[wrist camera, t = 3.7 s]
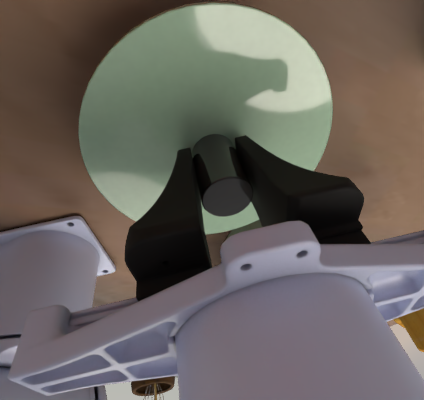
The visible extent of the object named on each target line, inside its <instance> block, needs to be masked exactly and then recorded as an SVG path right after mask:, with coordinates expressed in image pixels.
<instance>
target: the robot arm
mask: <svg viewBox="0 0 424 400" xmlns="http://www.w3.org/2000/svg"><path fill="white" fill-rule="evenodd" d="M235 147H236V151H237V154H238V156H239V158H240V160H241V163H242V165H243V167H244V169H245V172H246V174H247V176H248V178H249V181H250V183H251V185H252V188H253V198H252V200H251V202H252V204H253V206H254V208H255V210H256V212H257V215H258V217H259V219H260V222H261V225H262V227H261V228H257V229H252V230H248V231H244V232H239V233H237V234H235V235H232V236H230V237H229V238H228V239H227V240H226V241H225V242H224V243H222V245H221V249H220V255H221V264H219V265H217V266H215V267H213V268H212V263H211V259H210V254H209V249H208V245H207V240H206V235H205V230H204V223H203V213H202V204H201V197H200V193H199V188H198V183H197V179H196V172H195V167H194V162H193V158H192V153H191V149H190V148H185V149H180V150H178V152H177V157H176V161H175V165H174V168H173V170H172V173H171V176H170V178H169V180H168V182H167V184H166V186H165V188H164V190H163V191H162V193H161V195H160V196H159V198H158V199H157V201H156V202H155V203H154V205H153V206H152V207H151V208H150V209H149V210H148V211H147V212H146V213H145V214H144V215H143V216H142V217H141V218H140V219H139V220H138V221H137V222H135V223H134V224H133V225H132V226H131V227H130V228H129V232H128V235H127V240H126V245H125V262H126V265H127V267H128V268H129V270H130V272H131V273H132V275H133V276H134V278H135V280H136V281H137V287H136V298H131V299H127V300H123V301H119V302H114V303H110V304H106V305H101V306H97V307H93V308H92V304H93V297H94V291H95V284H96V278H97V276H100V275H105V274H109V273H113V272H115V270H116V266H115V265H114V263H113V262H112V260H111V259H110V257H109V256H108V254H107V253H106V251H105V250H104V248H103V247H102V245H101V244H100V242H99V241H98V240H97V238H96V237H95V235H94V234H93V232H92V231H91V229H90V228H89V226H88V225H87V223H86V222H85V220H84V219H83V218H82V217H80V216H72V217H67V218H62V219H58V220H53V221H49V222H44V223H40V224H35V225H31V226H26V227H21V228H17V229H12V230H8V231H3V232H0V400H107V395H106V390H105V386H104V385H108V384H116V383H124V382H131V381H139V380H147V379H155V378H163V377H171V376H178V385H179V399H180V400H424V380H423V378H422V377H421V375H420V374H419V372H418V371H417V369H416V367H415V366H414V364H413V363H412V361H411V360H410V358H409V356H408V355H407V353H406V352H405V350H404V349H403V347H402V346H401V344H400V342H399V341H398V339H397V338H396V336H395V335H394V333H393V332H392V330H391V328H390V327H389V325H388V324H387V321H390V320H393V319H396V318H398V317H401V316H404V315H407V314H409V313H412V312H415V311H418V310H420V309H423V308H424V230H423V231H419V232H414V233H410V234H406V235H402V236H397V237H393V238H389V239H384V240H380V241H376V242H372V243H371V242H370V241H369V240H368V239H367V237H366V236H365V235H364V233H363V232H362V231H361V230H362V228H363V227H362V225H361V223H360V222H359V221H358V219H359V216H360V213H361V210H362V207H363V203H364V197H363V194H362V193H361V191H360V190H359V189H358V188H357V187H356V185H355V184H354V183H353V182H352V181H351V180H350V179H349V178H346V177H339V176H333V175H327V174H323V173H318V172H314V171H311V170H308V169H305V168H302V167H299V166H296V165H294V164H291V163H289V162H287V161H285V160H283V159H281V158H279V157H277V156H275V155H274V154H272V153H270V152H269V151H267V150H266V149H264V148H263V147H261V146H260V145H258V144H257V143H256V142H254V141H253V140H252V139H250V138H249V137H248V136H246V135H245V136H241V137H236V138H235ZM69 222H71V223H69Z"/></svg>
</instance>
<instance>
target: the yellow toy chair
mask: <svg viewBox="0 0 424 400" xmlns="http://www.w3.org/2000/svg"><path fill="white" fill-rule="evenodd" d="M393 320H394V321H395V322H396V323H397V324H399V325H401V326H402V327H404V328H406V330H407V332H408V333H409V335H410V337H411V338H412V340H413V342H414V343H415V345H416V346H417V348H418V349H419V350H420V351H422V352H424V308H423V309H420V310H418V311H415V312H412V313H409V314H407V315H404V316H401V317H398V318H396V319H393Z"/></svg>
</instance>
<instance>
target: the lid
mask: <svg viewBox="0 0 424 400" xmlns="http://www.w3.org/2000/svg"><path fill="white" fill-rule="evenodd" d="M332 114H333V107H332V94H331V89H330V83H329V80H328V77H327V74H326V71H325V68H324V66H323V64H322V62H321V61H320V59H319V57H318V55H317V53H316V52H315V50H314V49H313V48H312V47H311V45H310V44H309V43H308V42H307V40H306V39H305V38H304V37H303V36H302V35H300V34H299V33H298V32H297V31H296V30H295V29H294V28H293V27H291V26H290V25H288V24H287V23H285V22H284V21H282V20H280V19H279V18H277V17H275V16H274V15H272V14H269V13H267V12H264V11H262V10H259V9H257V8H254V7H251V6H247V5H242V4H237V3H233V2H213V1H209V2H201V3H192V4H186V5H183V6H179V7H176V8H172V9H169V10H166V11H163V12H161V13H159V14H157V15H155V16H153V17H150V18H148V19H146V20H145V21H143V22H142V23H140V24H139V25H137V26H136V27H134V28H133V29H131V30H130V31H128V32H127V33H126V34H125V35H124V36H123V37H122V38H121V39H120V40H118V41H117V42H116V43H115V44H114V45H113V46H112V47H111V48H110V50H109V51H108V52H107V54H106V55H105V56H104V57H103V59H102V60H101V61H100V62H99V64H98V66H97V68H96V70H95V71H94V73H93V75H92V77H91V79H90V81H89V83H88V86H87V88H86V91H85V94H84V97H83V100H82V104H81V109H80V115H79V133H78V136H79V143H80V150H81V154H82V157H83V161H84V164H85V167H86V169H87V171H88V173H89V175H90V177H91V179H92V181H93V182H94V184H95V185H96V187H97V189H98V190H99V191H100V193H101V194H102V195H103V196H104V197H105V198H106V199H107V201H108V202H109V203H111V204H112V205H113V206H114V207H115V208H116V209H117V210H119V211H120V212H122V213H123V214H124V215H126V216H127V217H129V218H131V219H133V220H134V221H136V222H137V221H138V220H139V219H140V218H141V217H142V216H143V215H144V214H145V213H146V212H147V211H148V210H149V209H150V208H151V207H152V206H153V205H154V203H155V202H156V201H157V199H158V198H159V196H160V195H161V193H162V191H163V190H164V188H165V186H166V184H167V182H168V180H169V178H170V176H171V173H172V170H173V168H174V165H175V161H176V157H177V152H178V150H180V149H185V148H190V149H191V153H192V158H193V162H194V167H195V172H196V179H197V183H198V188H199V193H200V197H201V204H202V213H203V223H204V230H205V235H206V234H215V233H220V232H226V231H229V230H233V229H237V228H240V227H242V226H245V225H248V224H250V223H253V222H255V221H257V220H259V217H258V215H257V212H256V210H255V208H254V206H253V204H252V202H251V200H252V198H253V188H252V185H251V183H250V181H249V178H248V176H247V174H246V172H245V169H244V167H243V165H242V163H241V160H240V158H239V156H238V154H237V151H236V147H235V138H236V137H241V136H245V135H246V136H248V137H249V138H250V139H252V140H253V141H254V142H256V143H257V144H258V145H260V146H261V147H263V148H264V149H266V150H267V151H269V152H270V153H272V154H274V155H275V156H277V157H279V158H281V159H283V160H285V161H287V162H289V163H291V164H294V165H296V166H299V167H302V168H305V169H308V170H311V171H314V170H315V168H316V167H317V165H318V163H319V161H320V159H321V157H322V155H323V153H324V150H325V147H326V145H327V142H328V138H329V134H330V130H331V124H332Z"/></svg>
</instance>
